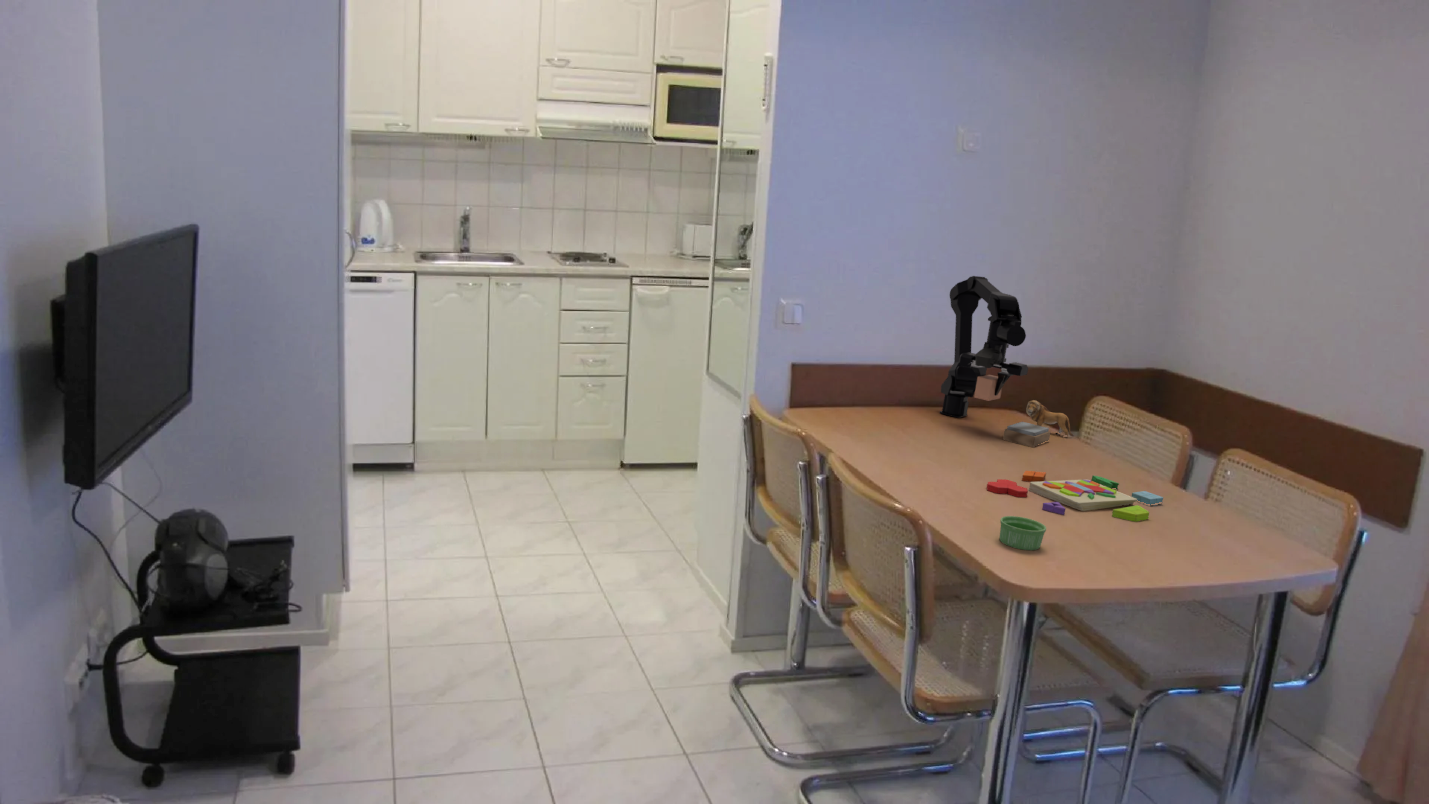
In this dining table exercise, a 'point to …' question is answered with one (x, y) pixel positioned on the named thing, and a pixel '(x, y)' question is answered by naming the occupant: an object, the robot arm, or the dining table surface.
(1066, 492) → the pattern blocks set
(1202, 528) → the dining table surface
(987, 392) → the terracotta brick
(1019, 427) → the base brick
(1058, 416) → the lion figurine
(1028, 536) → the ramekin
